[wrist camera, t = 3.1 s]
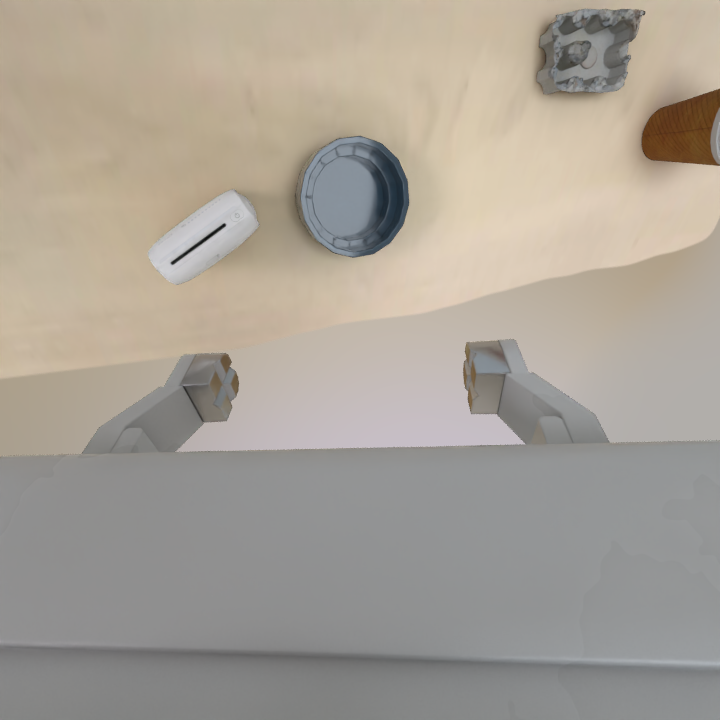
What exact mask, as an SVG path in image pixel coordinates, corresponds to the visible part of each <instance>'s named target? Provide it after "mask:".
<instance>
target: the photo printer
mask: <svg viewBox="0 0 720 720" xmlns="http://www.w3.org/2000/svg"><path fill="white" fill-rule="evenodd" d="M259 225H260V224H259V222H258V221H257V217H256V212H255V209H254V207H253V205H252V204H251V202H250V201H249V200H248V199H247V198H246V197H244V196H243V195H241V194H238V193H237V192H236V190H235V189H232V190H229V191H227V192H224V193H222V194H220V195H219V196H217V197H216V198H214V199H213V200H211V201H210V202H208V203H207V204H205V205H204V206H202V207H201V208H199V209H198V210H197V211H195V212H194V213H192V214H191V215H190V216H188V217H187V218H186V219H184V220H183V221H182V222H180V223H179V224H178V225H176V226H175V227H174V228H172V229H171V230H170V231H169V232H167V233H166V234H165V235H164V236H162V237H161V238H160V239H159V240H158V241H157V242H156V243H155V244H154V245H153V246H152V247H151V248H150V250H149V251H148V256H149V259H150V261H151V262H152V264H153V265H154V267H155V268H156V269H157V271H158V272H159V273H160V274H161V275H163V276H164V278H165V279H167V280H168V281H170V282H171V283H173V284H175V285H179V284H182V283H184V282H187V281H189V280H191V279H193V278H194V277H196V276H197V275H199V274H201V273H202V272H204V271H205V270H207V269H208V268H210V267H211V266H213V265H214V264H215V263H217V262H218V261H220V260H221V259H222V258H224V257H225V256H226V255H228V254H229V253H230V252H232V251H233V250H234V249H236V248H237V247H238V246H239V245H241V244H242V243H243V242H244V241H245V240H246V239H247V238H248V237H249V236H251V235H252V234H253V232H254V231H255V230H256V229H257V228H258V227H259Z"/></svg>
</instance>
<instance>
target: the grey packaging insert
mask: <svg viewBox="0 0 720 720" xmlns="http://www.w3.org/2000/svg"><path fill="white" fill-rule="evenodd" d="M642 15H645V11H643V10H636V9H635V10H631V9H620V10H608V9H602V10H596V9H582V10H577V11H573V12H569V13H565V14H560V15H556V17H557V21H556V22H553V23H551V24H550V25H549V28H548V30H547V32H546V33H545V34H543V35H542V36H541V37H540V45H539V47H541V48H542V49H544V51H545V53H546V58H547V59H546V64H545V66H544V67H543V69H542V70H541V71H538V73H537V82H538V83H540V84H541V85H542V87H543V93H544V94H551V93H555V92H558V91H561V90H563V91H566V92H568V93H574V92H578V91H584V92H599V93H602V92H612V91H617V90H619V89H620V88H621V87H622V86H623V85H624V81H625V78H626V76H627V74H628V72H626V70H627V64H628V62H629V60H630V59H631V56H630V55H628V56H627V52H628V44H629V42H631V41H632V40H633V39H634V38H635V37H636V35H637V33H638V29H639V23H640V20H641V16H642Z"/></svg>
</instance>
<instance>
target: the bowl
mask: <svg viewBox="0 0 720 720" xmlns="http://www.w3.org/2000/svg"><path fill="white" fill-rule="evenodd" d="M295 197H296V203H297V208H298V213H299V217H300V220H301V221H302V223H303V225H304V226H305V228H306V229H307V231H308V233H309V234H310V236H311V237H313V238H314V239H315V240H317V241H318V242H319V243H321V244H322V245H323V246H325V247H326V248H327V249H329V250H330V251H332V252H333V253H336V254H340V255H344V256H349V257H360V256H365V255H371V254H374V253H376V252H377V251H379V250H380V249H382V248H383V247H385V246H386V245H388V244H389V243H390V242H391V241H392V240H393V239H394V237H395V236H396V234H397V233H398V232H399V230H400V229H401V227H402V226H403V224H404V220H405V217H406V213H407V210H408V206H409V193H408V181H407V178H406V176H405V173H404V171H403V169H402V167H401V165H400V162H399V160H398V159H397V158H396V157H395V156H394V155H393V154H392V153H391V152H390V151H389V150H388V149H387V148H386V147H385V146H384V145H383V144H381V143H379V142H377V141H374V140H371V139H368V138H365V137H362V136H355V137H347V138H339V139H336V140H334V141H332V142H330V143H329V144H327V145H326V146H324V147H322V148H321V149H319V150H318V151H316V152H315V153H313V154H312V155H311V156H310V158H309V159H308V161H307V162H306V164H305V165H304V167H303V169H302V170H301V172H300V174H299V178H298V184H297V189H296V194H295Z"/></svg>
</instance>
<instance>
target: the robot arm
mask: <svg viewBox="0 0 720 720" xmlns="http://www.w3.org/2000/svg"><path fill="white" fill-rule="evenodd" d="M465 353H466V358H467V359H466V360H465V361H464V368H463V371H464V372H463V373H464V384H465V389H466V390H467V391H468V403H469V407H470V412H471V414H498V416H499V417H500V418H501V419H502V420H503V421H504V422H505V423H506V424H507V425H508V426H509V427H510V428H511V429H512V430H513V431H514V433H515V434H516V435H518V437H519V438H521V440H523V442H524V443H525V444H526V445H480V446H440V447H439V446H438V447H387V448H339V449H293V450H248V451H204V452H203V451H201V452H175V451H176V450H177V449H178V448H180V447H181V446H182V445H183V443H185V442H186V441H187V440H188V439H189V438H190V437H191V436H192V435H193V434H194V433H195V432H196V431H197V430H198V428H200V427H201V426H202V425H203V422H218V421H219V422H221V421H227V419H228V417H229V414H230V411H231V409H232V405H231V402H230V401H232V400H233V399H234V398H235V397H236V396H237V393H238V387H239V381H238V376H237V374H236V371H235V370H233V369H232V368H231V367H230V364H231V359H230V357H229V355H228V354H226V353H211V354H185V355H183V356H181V358H180V360H179V361H178V363H177V365H176V367H175V368H174V370H173V372H172V373H171V375H170V377H169V378H168V380H167V382H166V383H165V385H164V387H159V388H157V389H156V390H154V391H153V392H151V393H150V394H148V395H147V396H146V397H144V398H142V399H141V400H139V401H138V402H136V403H135V404H133V405H132V406H130V407H129V408H128V409H126V410H125V411H123V412H121V413H120V414H119V415H117V416H116V417H114V418H113V419H111V420H110V421H108V422H107V423H105V424H104V425H102V426H101V427H99V429H98V430H97V431H96V433H95V434H94V436H93V437H92V439H91V440H90V442H89V443H88V445H87V446H86V448H85V449H84V451H83V452H82V454H61V455H60V454H59V455H13V456H12V455H10V456H0V720H720V440H712V441H668V442H621V443H610V442H609V440H608V438H607V437H606V435H605V433H604V431H603V429H602V427H601V425H600V423H599V421H598V419H597V417H596V415H595V414H594V413H593V412H591V411H590V410H588V409H587V408H585V407H584V406H582V405H581V404H579V403H578V402H576V401H575V400H573V399H572V398H570V397H569V396H567V395H566V394H565V393H563V392H561V391H560V390H559V389H557V388H556V387H554V386H552V385H551V384H550V383H548V382H547V381H545V380H544V379H542V378H541V377H539V376H538V375H536V374H535V373H529V372H528V370H527V367H526V365H525V362H524V360H523V357H522V355H521V352H520V350H519V347H518V345H517V342H516V340H514V339H506V340H498V341H477V342H467V343H466V348H465Z"/></svg>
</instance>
